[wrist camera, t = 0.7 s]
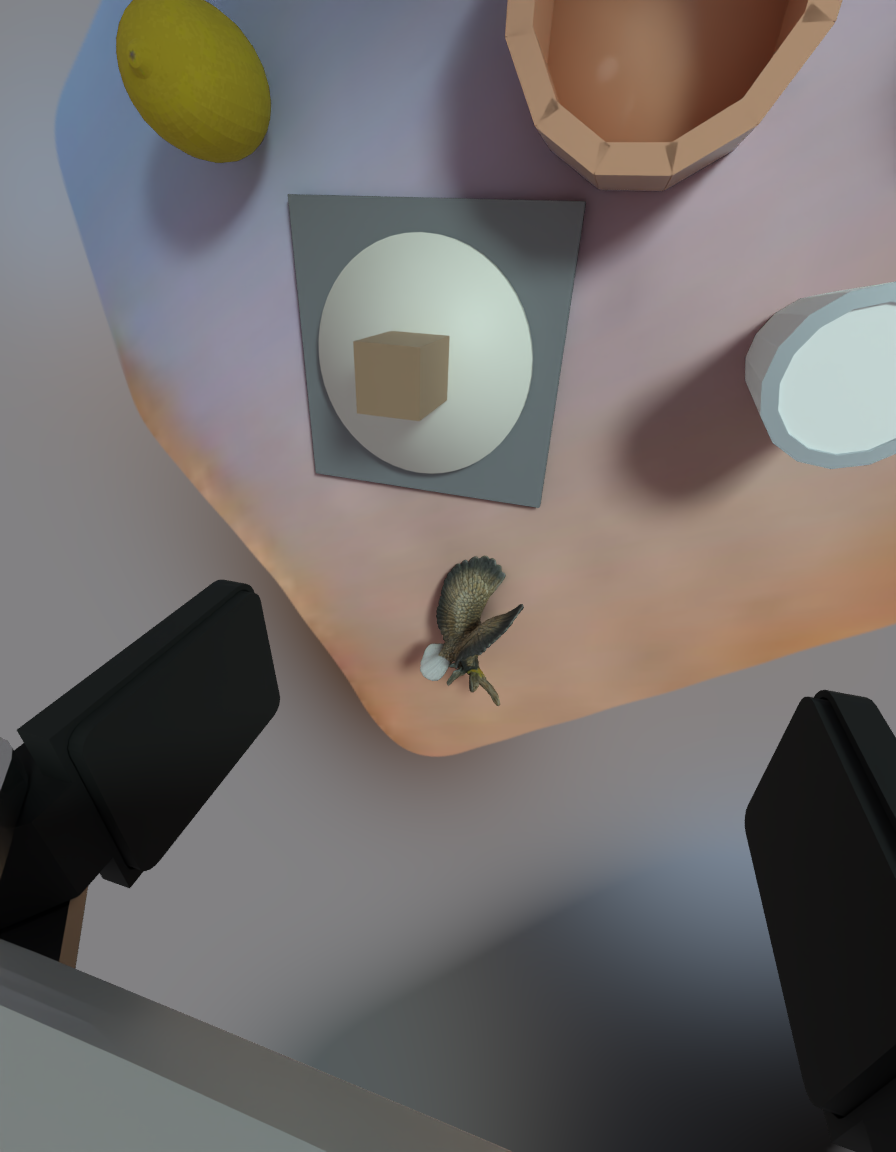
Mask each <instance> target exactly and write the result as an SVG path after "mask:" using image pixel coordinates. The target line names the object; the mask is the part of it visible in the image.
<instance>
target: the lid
mask: <svg viewBox="0 0 896 1152" xmlns="http://www.w3.org/2000/svg"><path fill="white" fill-rule="evenodd" d="M319 360H320V367H321V373H322V377H323V381H324V385H325V388H326V391H327V393H328V396H329V399H330V401H331V403H332V405H333V407H334V409H335V411H336V413H337V415H338V416H339V418H340V419H341V421H342V423H343V424H344V425H345V427H346V428H347V429H348V430H349V432H350V433H351V434H352V435H353V436H354V438H355V439H356V440H357V441H358V442H359V443H360V444H361V445H363V446H364V447H365V448H366V449H367V450H369V451H370V452H371V453H372V454H374V455H375V456H377V457H379V458H380V459H382V460H383V461H385V462H387V463H389V464H392V465H394V466H396V467H399V468H402V469H405V470H409V471H413V472H418V473H430V474H432V473H445V472H451V471H456V470H459V469H462V468H465V467H468V466H470V465H472V464H473V463H475V462H477V461H479V460H481V459H482V458H484V457H485V456H487V455H488V454H489V453H491V452H492V451H493V450H494V449H495V448H496V447H497V446H498V445H499V444H500V443H501V442H502V441H503V440H504V439H505V437H506V436H507V435H508V434H509V432H510V431H511V429H512V428H513V426H514V425H515V423H516V421H517V420H518V418H519V416H520V414H521V412H522V410H523V408H524V405H525V403H526V400H527V396H528V393H529V390H530V385H531V379H532V372H533V346H532V338H531V333H530V327H529V323H528V320H527V317H526V314H525V311H524V308H523V306H522V304H521V302H520V300H519V297H518V295H517V293H516V292H515V290H514V289H513V287H512V285H511V284H510V282H509V281H508V279H507V278H506V277H505V275H504V274H503V273H502V272H501V271H500V270H499V268H498V267H497V266H496V265H495V264H494V263H493V262H492V261H490V260H489V259H488V258H487V257H486V256H485V255H484V254H482V253H481V252H479V251H478V250H476V249H475V248H473V247H472V246H470V245H468V244H466V243H463V242H461V241H459V240H457V239H454V238H451V237H447V236H444V235H440V234H433V233H425V232H411V233H402V234H397V235H393V236H389V237H387V238H384V239H382V240H379V241H377V242H375V243H373V244H372V245H370V246H368V247H367V248H365V249H364V250H362V251H361V252H360V253H359V254H358V255H356V256H355V257H354V258H353V259H352V260H351V261H350V262H349V263H348V264H347V266H346V267H345V268H344V269H343V270H342V272H341V273H340V275H339V276H338V278H337V279H336V281H335V282H334V284H333V286H332V288H331V290H330V292H329V295H328V297H327V300H326V303H325V306H324V309H323V312H322V317H321V322H320V329H319Z"/></svg>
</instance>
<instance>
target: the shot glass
mask: <svg viewBox="0 0 896 1152" xmlns="http://www.w3.org/2000/svg"><path fill="white" fill-rule="evenodd" d="M745 381H746V384H747V386H748V388H749V391H750V393H751V395H752V398H753V400H754V402H755V405H756V407H757V409H758V412H759V414H760V416H761V419H762V421H763V423H764V425H765V427H766V429H767V432H768V434H769V436H770V438H771V440H772V442H773V444H775V445H776V446H777V447H779V448H780V449H781V450H783V451H784V452H785V453H787V454H788V455H789V456H791V457H792V458H793V459H795V460H796V461H798V462H802V463H807V464H811V465H816V466H820V467H824V468H829V469H835V468H844V467H852V466H861V465H870V464H872V463H875V462H877V461H879V460H882V459H884V458H887V457H889V456H891V455H894V454H896V282H890V283H884V284H878V285H872V286H866V287H859V288H853V289H847V290H841V291H835V292H829V293H824V294H819V295H815V296H810V297H805V298H801V299H799V300H797V301H795V302H793V303H792V304H790V305H788V306H787V307H785V308H783V309H782V310H780V311H778V312H776V313H775V314H774V315H773V316H772V317H771V318H770V319H769V320H768V321H767V323H766V324H765V325H764V326H763V327H762V328H761V329H760V330H759V331H758V332H757V334H756V335H755V337H754V340H753V342H752V344H751V346H750V349H749V351H748V353H747V355H746V360H745Z"/></svg>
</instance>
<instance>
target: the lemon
mask: <svg viewBox="0 0 896 1152" xmlns="http://www.w3.org/2000/svg"><path fill="white" fill-rule="evenodd" d="M116 54H117V60H118V67H119V71H120V74H121V77H122V80H123V84H124V87H125V89H126V91H127V93H128V95H129V97H130V99H131V101H132V103H133V104H134V106H135V107H136V109H137V110H138V112H139V113H140V115H141V116H142V118H143V119H144V120H145V121H146V122H147V123H148V125H149V126H150V127H151V128H152V129H153V130H154V131H155V132H156V133H157V134H158V135H159V136H161V137H162V138H163V139H164V140H166V141H167V142H169V143H170V144H172V145H173V146H175V147H177V148H178V149H180V150H182V151H183V152H185V153H187V154H188V155H191V156H193V157H195V158H198V159H202V160H206V161H210V162H215V163H225V162H234V161H239V160H241V159H243V158H245V157H247V156H248V155H250V154H252V153H253V152H254V151H255V150H256V148H257V147H258V146H259V145H260V144H261V142H262V140H263V138H264V136H265V134H266V132H267V130H268V125H269V121H270V113H271V99H270V90H269V85H268V81H267V78H266V74H265V71H264V68H263V66H262V64H261V61H260V59H259V57H258V55H257V53H256V51H255V49H254V47H253V46H252V45H251V43H250V42H249V41H248V39H247V38H246V37H245V35H244V34H243V33H242V31H241V30H240V29H239V27H238V26H237V25H236V24H235V23H234V22H233V21H232V20H230V19H229V18H228V17H227V16H226V15H224V14H223V13H222V12H221V11H220V10H218V9H217V8H216V7H214V6H213V5H212V4H210V3H208V2H206V1H204V0H133V1H132V2H131V3H130V4H129V5H128V7H127V8H126V9H125V11H124V13H123V15H122V18H121V20H120V22H119V26H118V31H117V37H116Z"/></svg>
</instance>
